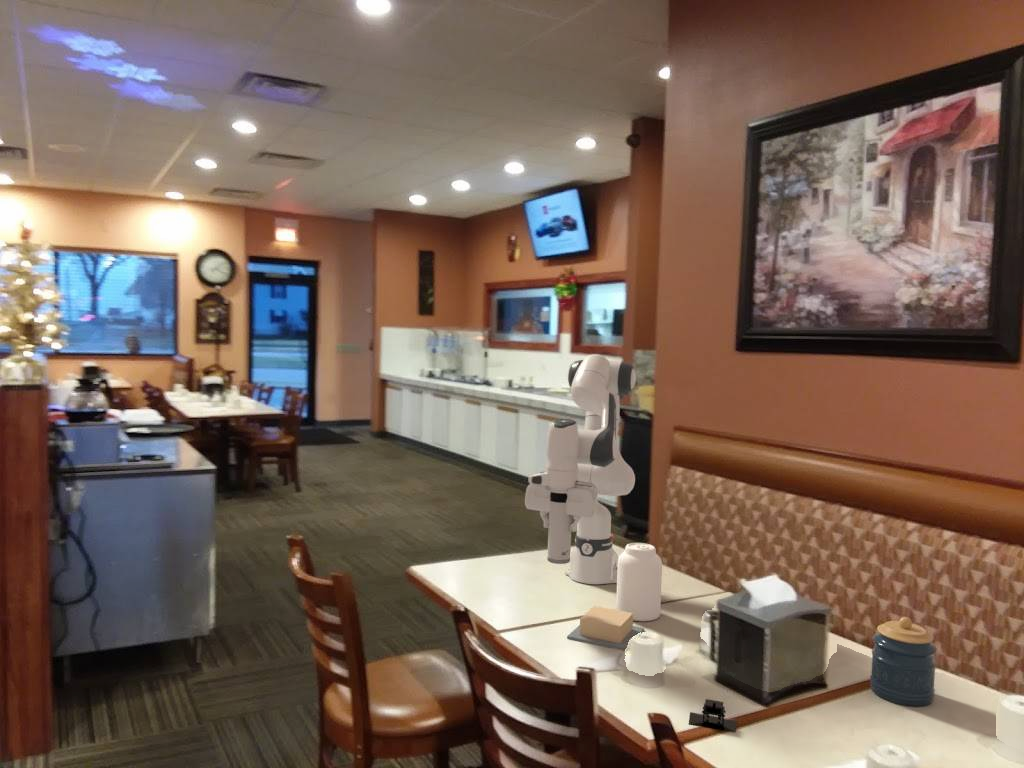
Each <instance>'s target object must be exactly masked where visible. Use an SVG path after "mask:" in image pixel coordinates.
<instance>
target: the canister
mask: <svg viewBox="0 0 1024 768" xmlns="http://www.w3.org/2000/svg"><path fill="white" fill-rule="evenodd" d="M876 629H877V631H878V632H876V633H875V634H873V636H872V641H873V643H874V647H873V649H872V650H871V654H872V656H871V657H872V659H871V673H870V674H871V675H870V677H869V679H870V680H869V682H870V688H871V691H872V692H873V693H874V694H875V695H877V696H879V697H880V698H882V699H884V700H886V701H888V702H891V703H895V704H899V705H903V706H909V707H910V706H911V707H924V706H928V705H930V704H932V702H933V700H934V697H935V678H936V677H935V676H936V675H935V674H936V668H937V662H936V660H935V654H936V653H937V651H938V648H937V645H935V644H934V643H933V641H934V636H933V635H932V633H930V632H929V631H927V630H926V628H924V627H922V626H920V625H918V624H915V623H913V622H912V620H911V619H910V618H909V617H907V616H902V617H901V618H900V619H899V620H890V621H886V622H884V623H881V624H879V625H878V626H877V627H876Z"/></svg>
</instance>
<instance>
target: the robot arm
mask: <svg viewBox="0 0 1024 768" xmlns="http://www.w3.org/2000/svg"><path fill="white" fill-rule="evenodd" d="M568 368H569V369H568V372H567V381H568V385H569V387H570V395H571V398H572V400H573V402H574V403H575V404H576V406H578V407H579V408H580V409H582V410H583V411H585V419H584V428H583V429H579V426H578V423H577V421H576V420H574V419H572V418H557V419H554V420H552V421H550V423H549V425H548V429H547V430H548V431H547V437H546V447H545V450H546V451H545V452H546V457H547V459H546V464H545V471H541V472H538V473H534V474H532V475H529V476H528V485H527V487H526V489H525V495H524V505H525V508H526V509H527V510H532V511H538V512H539V515H540V517H541V519H542V522H543V528H545V529H546V528H548V529H549V517H548V516H547V514H548V515H549V511H550V498H551V497H550V494H551V492H554V493H566V495H567V500H566V514H567V515H572V519H573V520H574V521H573V522H572V524H570V525H569V528H570V529H569V531H571V533H572V532H574V533H575V532H576V534H575V538H574V545H575V546H574V548H571V553H570V562H569V565H568V567H569V569H566V570H565V571H564V574H565V575H566V576H568V577H570V578H571V580H573V581H575V582H577V583H581V584H586V585H605V584H606V585H607V584H617V570H618V559H619V554H618V552H616V551H615V549H614V548H613V540H614V537H615V535H614V534H613V533H611V532H612V529H611V528H612V515H611V512H610V511H609V508H607V507H606V506H604V505H603V504H602V503H600V502H599V501H598V499H597V497H598V495H599V496H602V495H603V496H609V497H611V496H612V497H618V496H619V497H620V496H627V495H628V494H630V493H631V491H633V489H634V487H635V482H636V475H635V473H634V470H633V468H632V467H631V466H630V465H629V464H628V463H627V462H626V461H625V460H624V458H623V457H622V454H621V452H620V449H619V444H618V442H619V441H618V437H619V435H618V434H619V424H620V412H621V411H620V408H621V406H620V400H623V399H625V397H626V396H628V395H629V394H630V393H631V392H632V391H633V390H634V387H635V386H636V381H637V374H636V370H635V367H634V366H633V364H632V363H629V362H625V361H620V362H619V361H615V360H610V359H607V358H606V357H605V356H604V355H601V354H598V353H597V354H596V353H595V354H594V353H593V354H590V355H586V356H585V358H584V359H578V360H575V361H574V362H572V363H571V364H570V365H569V367H568Z"/></svg>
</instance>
